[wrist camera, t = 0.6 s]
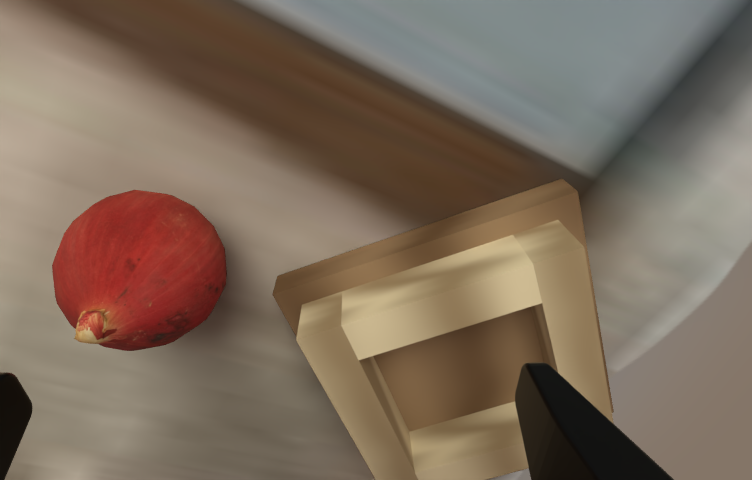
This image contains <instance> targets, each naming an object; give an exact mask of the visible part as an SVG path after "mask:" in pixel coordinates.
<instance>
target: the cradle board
mask: <svg viewBox="0 0 752 480" xmlns="http://www.w3.org/2000/svg"><path fill="white" fill-rule="evenodd" d="M273 296H274V298H275V300H276V302H277V303H278V305H279V307H280V309H281V310H282V312H283V314H284V316H285V317H286V319H287V321H288V323H289V324H290V326H291V328H292V330H293V332H294V333H295V335H296V337H297V338H296V341H297V342H298V344H299V346H300V348H301V349H302V351H303V353H304V355H305V356H306V358H307V360H308V362H309V363H310V365H311V367H312V369H313V370H314V372H315V374H316V376H317V378H318V379H319V381H320V383H321V385H322V386H323V388H324V390H325V392H326V393H327V395H328V397H329V399H330V400H331V402H332V404H333V406H334V407H335V409H336V411H337V413H338V414H339V416H340V418H341V420H342V421H343V423H344V425H345V427H346V428H347V430H348V432H349V434H350V435H351V437H352V439H353V441H354V442H355V444H356V446H357V448H358V449H359V451H360V453H361V455H362V456H363V458H364V460H365V462H366V463H367V465H368V467H369V469H370V470H371V472H372V474H373V476H374V477H375V479H376V480H486V479H490V478H494V477H497V476H501V475H505V474H508V473H512V472H516V471H520V470H523V469H527V468H529V466H528V462H527V457H526V452H525V448H524V443H523V438H522V433H521V429H520V424H519V419H518V415H517V410H516V405H515V392H516V388H517V384H518V380H519V376H520V372H521V368H522V366H523V365H524V364H525V363H533V362H544V363H547V364H549V365H550V366H551V367H552V368H554V369H555V370H556V371H557V372H558V373H559V374H560V375H561V376H562V377H563V378H564V379H565V380H567V381H568V382H569V383H570V384H571V385H572V386H573V387H574V388H575V389H576V390H577V391H578V392H580V393H581V394H582V395H583V396H584V397H585V398H586V399H587V400H588V401H589V402H590V403H591V404H593V405H594V406H595V407H596V408H597V409H598V410H599V411H600V412H601V413H602V414H603V415H604V416H606V417H607V418H608V419H609V420H610V421H611V422H612V423H613V418H612V413H613V405H612V399H611V393H610V387H609V381H608V375H607V368H606V362H605V356H604V350H603V344H602V338H601V332H600V325H599V319H598V313H597V307H596V301H595V295H594V289H593V283H592V276H591V270H590V264H589V258H588V252H587V246H586V240H585V233H584V227H583V221H582V215H581V209H580V203H579V197H578V191H576V190H575V189H574V188H573V187H572V186H570V185H569V184H568V183H567V182H566V181H564V180H563V179H560V180H557V181H554V182H551V183H548V184H545V185H542V186H539V187H536V188H533V189H530V190H528V191H525V192H522V193H519V194H516V195H513V196H510V197H507V198H504V199H501V200H498V201H495V202H492V203H490V204H487V205H484V206H481V207H478V208H475V209H472V210H469V211H466V212H463V213H460V214H457V215H455V216H452V217H449V218H446V219H443V220H440V221H437V222H434V223H431V224H428V225H425V226H422V227H419V228H417V229H414V230H411V231H408V232H405V233H402V234H399V235H396V236H393V237H390V238H387V239H384V240H381V241H379V242H376V243H373V244H370V245H367V246H364V247H361V248H358V249H355V250H352V251H349V252H346V253H343V254H341V255H338V256H335V257H332V258H329V259H326V260H323V261H320V262H317V263H314V264H311V265H308V266H306V267H303V268H300V269H297V270H294V271H291V272H288V273H285V274H282V275H279V276H277V280H276V284H275V288H274V291H273Z"/></svg>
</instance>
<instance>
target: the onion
mask: <svg viewBox="0 0 752 480" xmlns="http://www.w3.org/2000/svg"><path fill="white" fill-rule="evenodd" d="M52 268H53V279H54V288H55V297H56V301H57V304H58V306H59V307H60V309H61V310H62V312H63V314H64V315H65V317H66V318H67V320H68V321H69V323H70V324H71V325H72V326H73V327H74V328H75V329H76V336H75V338H74V339H76V340H78V341H79V342H84V343H91V344H99V345H102V346H104V347H108V348H114V349H119V350H126V351H134V350H141V349H146V348H151V347H157V346H162V345H166V344H168V343H171V342H174V341H175V340H177V339H178V338H180V337H181V336H183V335H184V334H186V333H187V332H189V331H190V330H192V329H193V328H195V327H197V326H198V325H199V324H201V323H202V322H203V321H205V320H206V319H207V318H208V316H209V315H210V313H211V312H212V310H213V309H214V307H215V305H216V303H217V301H218V299H219V297H220V295H221V293H222V291H223V289H224V287H225V285H226V274H227V272H226V260H225V249H224V247H223V244H222V242H221V240H220V238H219V236H218V234H217V232H216V230H215V228H214V226H213V225H212V224H211V223H210V222H209V221H208V220H207V219H206V218H205V217H204V216H203V215H202V214H201V213H200V212H199V211H198V210H197V209H196V208H195V207H194V206H192V205H190V204H188V203H186V202H184V201H182V200H180V199H178V198H176V197H174V196H172V195H168V194H162V193H154V192H147V191H139V190H133V191H129V192H125V193H121V194H117V195H113V196H109V197H106V198H105V199H103V200H101V201H99V202H97V203H95V204H94V205H92V206H91V207H90V208H89V209H87V210H86V211H85V212H84V213H82V214H81V215H80V216H79V217H78V218H76V219H75V220H74V221H73V222H72V224H71V225H70V226H69V228H68V229H67V230H66V232H65V234H64V236H63V238H62V241H61V243H60V246H59V248H58V251H57V253H56V256H55V259H54V262H53V265H52Z"/></svg>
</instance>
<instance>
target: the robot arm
mask: <svg viewBox="0 0 752 480" xmlns="http://www.w3.org/2000/svg"><path fill="white" fill-rule="evenodd" d="M515 405H516V410H517V415H518V419H519V424H520V429H521V433H522V438H523V443H524V448H525V452H526V457H527V462H528V466H529V471H530V476H531V480H674V479H673V478H672V477H671V476H669V475H668V474H667V473H666V472H665V471H664V470H663V469H662V468H661V467H659V465H657V464H656V463H655V462H654V461H653V460H652V459H651V458H650V457H649V456H648V455H647V454H646V453H645V452H643V451H642V450H641V449H640V448H639V447H638V446H637V445H636V444H635V443H634V442H632V440H630V439H629V438H628V437H627V436H626V435H625V434H624V433H623V432H622V431H621V430H620V429H618V428H617V427H616V426H615V425H614V424H613V423H612V422H611V421H610V420H609V419H608V418H607V417H606V416H604V415H603V414H602V413H601V412H600V411H599V410H598V409H597V408H596V407H595V406H594V405H593V404H591V403H590V402H589V401H588V400H587V399H586V398H585V397H584V396H583V395H582V394H581V393H580V392H578V391H577V390H576V389H575V388H574V387H573V386H572V385H571V384H570V383H569V382H568V381H567V380H565V379H564V378H563V377H562V376H561V375H560V374H559V373H558V372H557V371H556V370H555V369H554V368H552V367H551V366H550V365H549V364H547V363H544V362H533V363H525V364H524V365H523V366H522V368H521V372H520V376H519V380H518V384H517V388H516V392H515ZM31 414H32V403H31V400H30V399H29V397H28V395H27V394H26V392H25V390H24V389H23V387H22V385H21V384H20V382H19V380H18V379H17V377H16V376H15V375H13V374H12V373H0V480H4V479H5V477H6V474H7V472H8V470H9V467H10V465H11V463H12V460H13V458H14V455H15V453H16V451H17V448H18V446H19V444H20V441H21V439H22V437H23V434H24V432H25V429H26V427H27V425H28V422H29V420H30V418H31Z"/></svg>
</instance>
